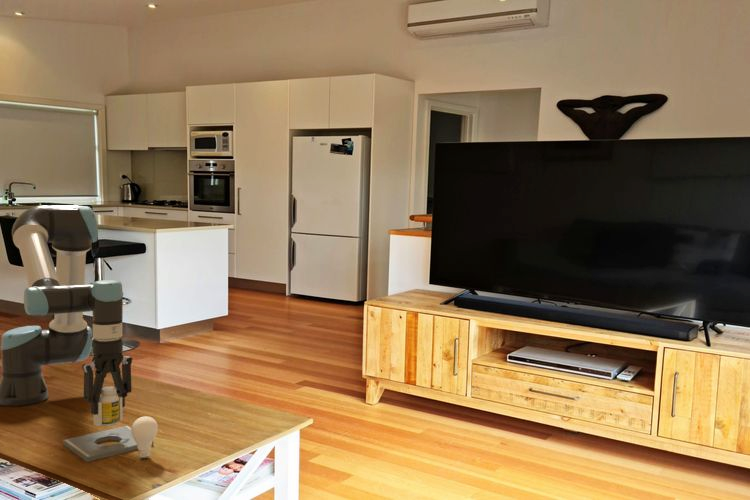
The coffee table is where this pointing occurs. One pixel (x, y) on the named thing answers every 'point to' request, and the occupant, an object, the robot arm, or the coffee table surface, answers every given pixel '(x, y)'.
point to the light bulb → (144, 434)
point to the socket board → (92, 451)
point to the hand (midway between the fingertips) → (108, 422)
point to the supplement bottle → (109, 406)
